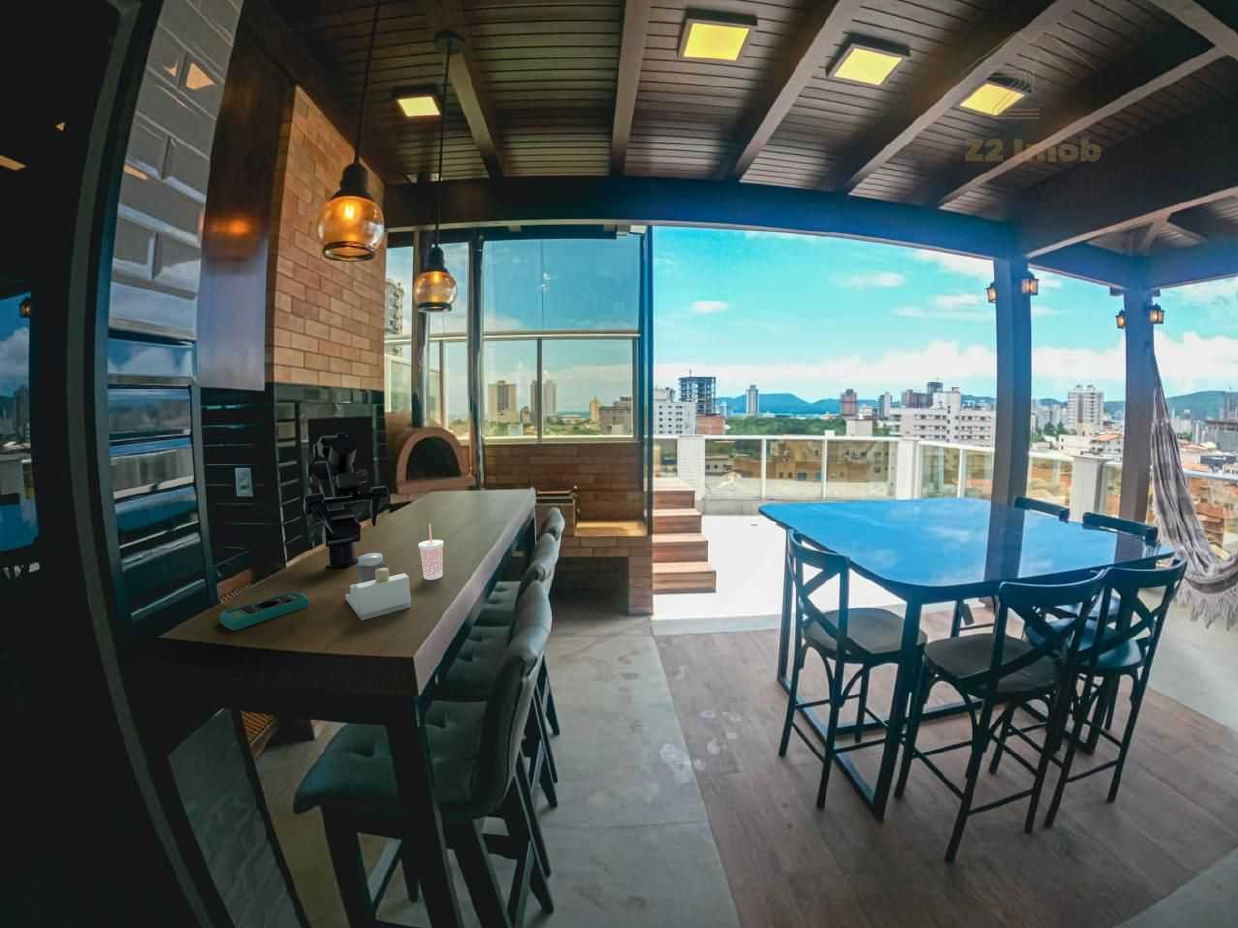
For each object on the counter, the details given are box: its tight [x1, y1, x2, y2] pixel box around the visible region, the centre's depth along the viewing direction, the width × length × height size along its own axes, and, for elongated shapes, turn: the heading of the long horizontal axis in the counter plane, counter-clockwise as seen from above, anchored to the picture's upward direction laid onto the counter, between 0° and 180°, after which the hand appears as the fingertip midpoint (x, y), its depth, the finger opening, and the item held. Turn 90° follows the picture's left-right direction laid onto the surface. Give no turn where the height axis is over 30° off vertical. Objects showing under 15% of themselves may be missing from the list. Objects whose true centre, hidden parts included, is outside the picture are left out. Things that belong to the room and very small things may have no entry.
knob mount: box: [345, 567, 412, 621], centre depth 111 cm, size 14×10×9 cm
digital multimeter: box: [219, 590, 309, 632], centre depth 106 cm, size 7×15×3 cm, turn 146°
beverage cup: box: [418, 523, 444, 581], centre depth 127 cm, size 6×6×14 cm
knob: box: [355, 552, 387, 584], centre depth 113 cm, size 5×5×9 cm
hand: (354, 529), depth 122 cm, fingers open, 9 cm apart
